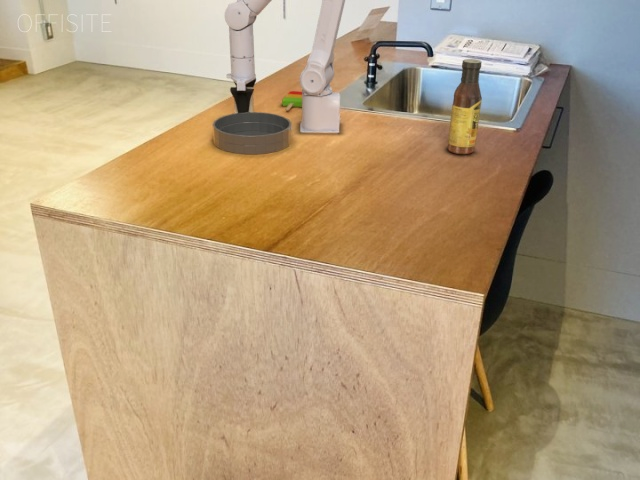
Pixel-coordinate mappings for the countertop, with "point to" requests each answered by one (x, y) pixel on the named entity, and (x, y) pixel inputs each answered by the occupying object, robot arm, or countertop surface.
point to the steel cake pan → (252, 133)
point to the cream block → (251, 107)
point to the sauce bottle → (465, 110)
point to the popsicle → (292, 99)
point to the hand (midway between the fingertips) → (244, 112)
